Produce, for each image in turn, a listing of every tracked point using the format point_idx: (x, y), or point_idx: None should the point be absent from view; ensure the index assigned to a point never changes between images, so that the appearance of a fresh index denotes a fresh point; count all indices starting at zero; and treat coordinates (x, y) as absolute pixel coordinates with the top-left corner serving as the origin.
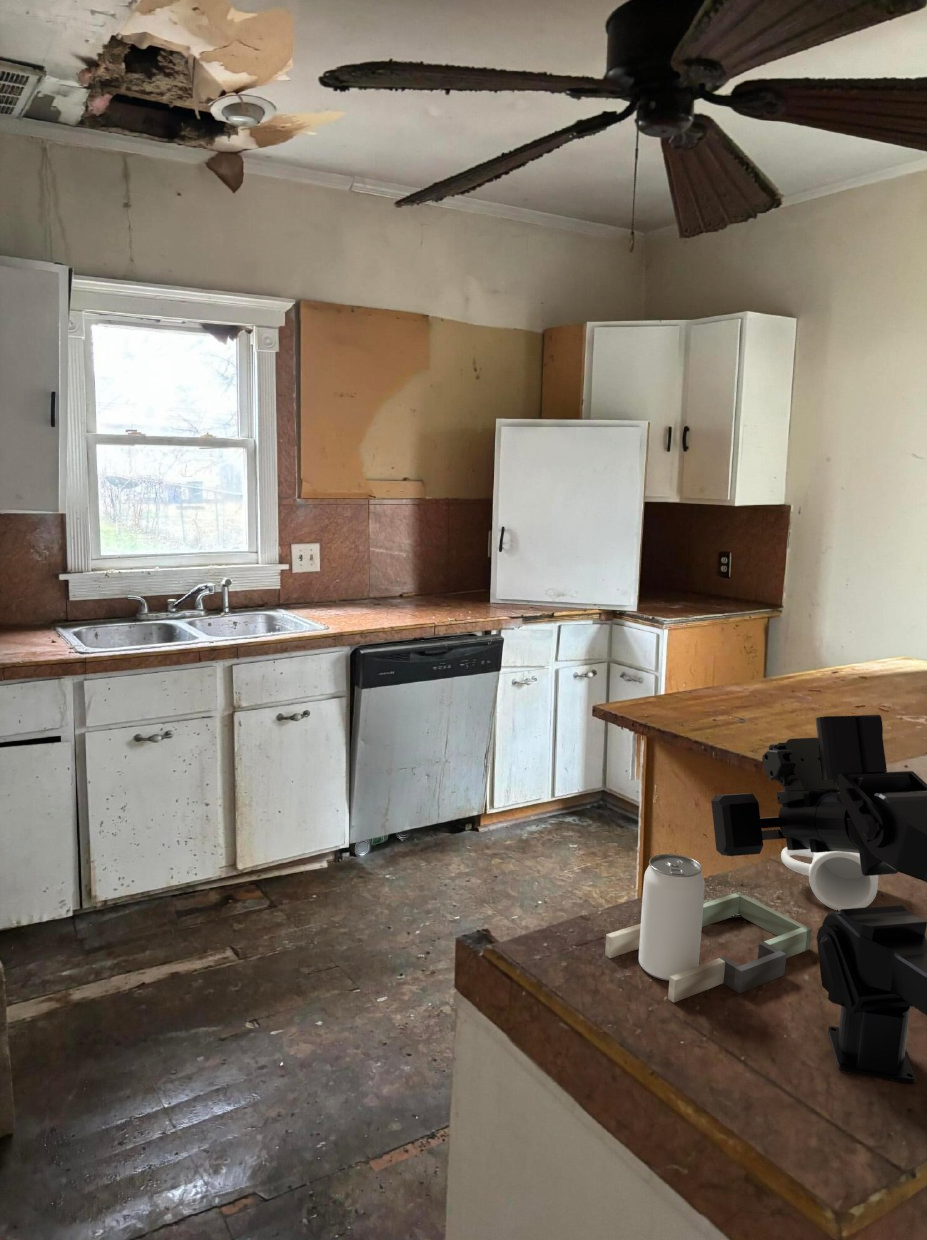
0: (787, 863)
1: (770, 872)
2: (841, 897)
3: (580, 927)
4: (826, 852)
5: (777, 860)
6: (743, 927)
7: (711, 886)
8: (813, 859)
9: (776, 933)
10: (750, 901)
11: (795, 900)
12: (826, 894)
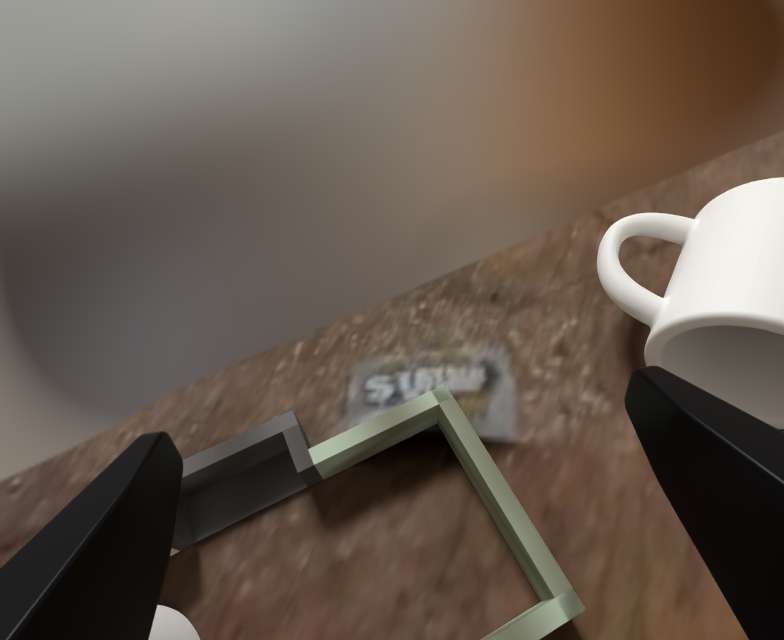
0: (605, 283)
1: (573, 251)
2: (715, 365)
3: (45, 469)
4: (729, 306)
5: (602, 210)
6: (428, 482)
7: (425, 303)
8: (678, 291)
9: (498, 527)
10: (456, 432)
11: (597, 360)
12: (679, 364)
